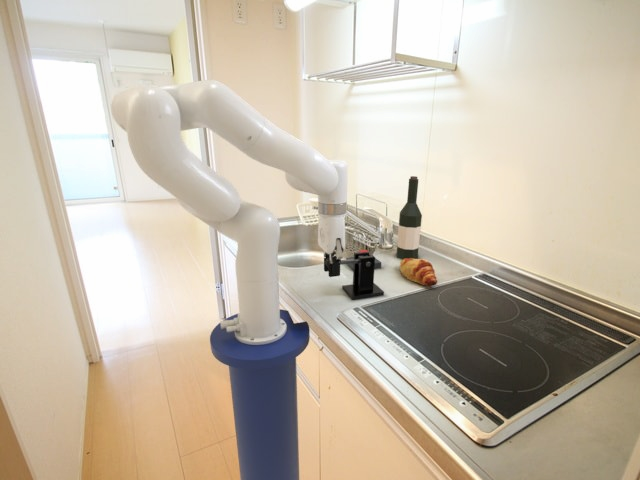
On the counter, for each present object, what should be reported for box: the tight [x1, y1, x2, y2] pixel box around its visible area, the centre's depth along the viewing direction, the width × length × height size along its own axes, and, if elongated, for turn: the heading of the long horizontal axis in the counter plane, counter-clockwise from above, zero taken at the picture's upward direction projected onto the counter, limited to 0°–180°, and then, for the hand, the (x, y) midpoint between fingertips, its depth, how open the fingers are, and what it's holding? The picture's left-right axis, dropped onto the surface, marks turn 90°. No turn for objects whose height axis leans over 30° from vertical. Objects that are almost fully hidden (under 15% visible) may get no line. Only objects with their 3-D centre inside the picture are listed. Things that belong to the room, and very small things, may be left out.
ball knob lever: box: [325, 255, 368, 268], centre depth 102 cm, size 13×3×3 cm, turn 112°
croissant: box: [399, 258, 438, 287], centre depth 118 cm, size 21×10×8 cm, turn 21°
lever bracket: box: [341, 251, 385, 301], centre depth 105 cm, size 10×8×12 cm
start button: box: [358, 249, 370, 253], centre depth 126 cm, size 4×4×2 cm
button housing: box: [345, 252, 382, 271], centre depth 127 cm, size 10×8×4 cm
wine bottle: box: [396, 175, 423, 260], centre depth 133 cm, size 8×8×30 cm
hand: (331, 272), depth 101 cm, fingers closed on ball knob lever, 3 cm apart
